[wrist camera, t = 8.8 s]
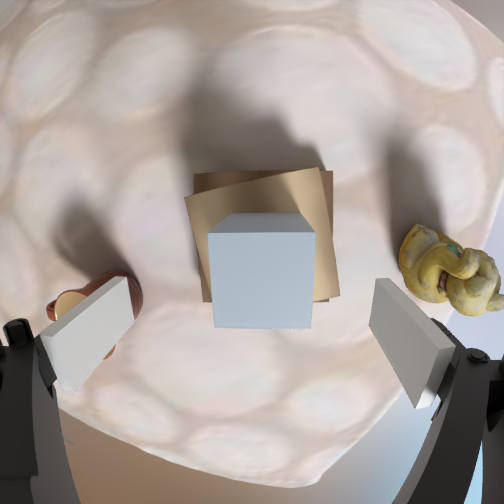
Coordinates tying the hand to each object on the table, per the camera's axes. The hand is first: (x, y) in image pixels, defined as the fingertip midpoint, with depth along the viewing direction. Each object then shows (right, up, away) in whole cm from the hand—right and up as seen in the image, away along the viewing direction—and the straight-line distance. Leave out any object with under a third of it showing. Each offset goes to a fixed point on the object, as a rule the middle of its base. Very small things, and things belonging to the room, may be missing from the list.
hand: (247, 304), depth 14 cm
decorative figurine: (+22, +2, +18) cm, 28 cm away
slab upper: (+2, +4, +15) cm, 16 cm away
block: (+1, +3, +11) cm, 12 cm away
